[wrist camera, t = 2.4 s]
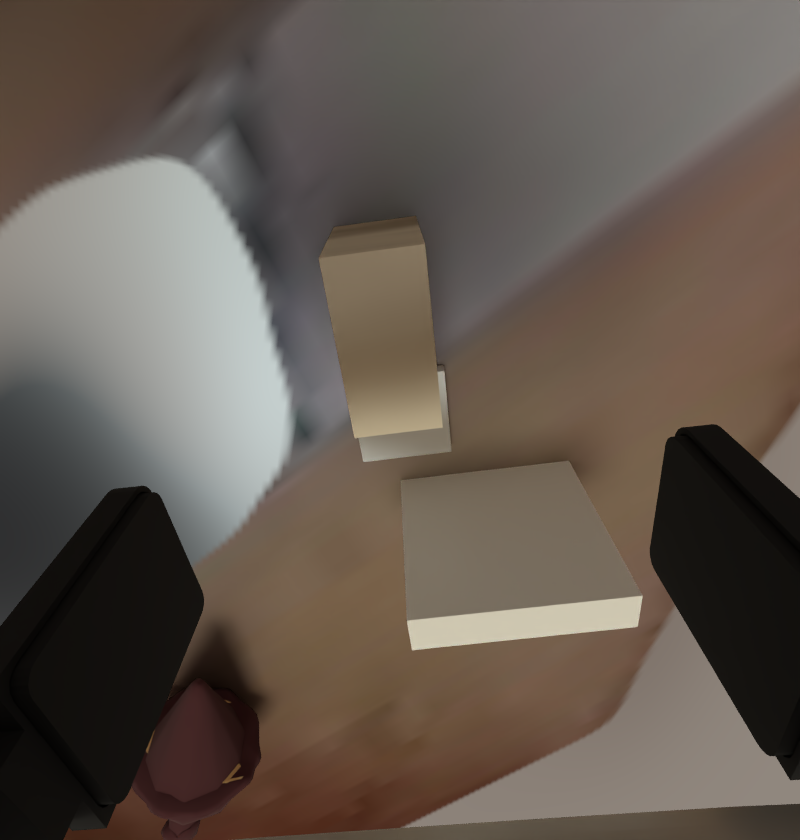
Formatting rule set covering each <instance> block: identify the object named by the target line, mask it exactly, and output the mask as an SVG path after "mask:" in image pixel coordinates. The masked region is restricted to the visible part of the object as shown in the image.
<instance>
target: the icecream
mask: <svg viewBox="0 0 800 840" xmlns="http://www.w3.org/2000/svg"><path fill="white" fill-rule="evenodd" d="M260 759H261V752H260V746H259V721H258V717H257V714H256V713H255V712H254V711H253V709H252V708H250V707H249V706H248V705H247V704H245V703H244V702H243V701H241V700H240V699H239V698H238V697H237V696H236V695H235V694H234V693H233V692H232V691H231V690H230V689H228V688H220V689H212V688H211V687H210V686H209V685H208V684H207V683H206V682H205V681H204V680H202V679H200V678H198V679H195V680H194V681H193V682H192V683H191V684H190V685H189V686H188V688H186V689H183V690H181V691H179V692H178V693H177V694H175V695H174V696H173V697H171V698H170V699H169V700H167V701H166V702H165V705H164V707H163V710H162V712H161V715H160V717H159V720H158V722H157V725H156V727H155V729H154V732H153V734H152V737H151V739H150V742H149V744H148V747H147V749H146V752H145V754H144V757H143V759H142V761H141V764H140V766H139V769H138V771H137V774H136V776H135V779H134V781H133V784H132V788H133V790H134V792H135V793H136V794H137V795H138V796H139V797H140V798H141V799H142V800H143V801H144V802H145V803H146V804H147V807H148V808H149V810H150V811H151V813H153V814H154V815H157V816H158V817H160V818H164V819H168V821H167V822H166V824H165V825H164V827H163V829H162V831H161V834H162V837H163V839H164V840H192V839H193V837H194V836H195V835H196V834H197V831H198V828H199V824H200V820H201V819H203V818H206V817H209V816H212V815H215V814H218V813H220V812H221V811H222V810H223V809H224V807H225V806H226V805H227V804H228V802H229V801H230V800H231V799H232V798H233V797H234V796H236V795H237V794H238V793H239V792H240V791H241V790H243V789H244V788H245V787H246V786H247V785H248V784H249V783H250V782H251V780H252V779H253V775H254V771H255V768H256V767H257V765H258V764H259V762H260Z"/></svg>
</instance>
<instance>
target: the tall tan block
mask: <svg viewBox="0 0 800 840" xmlns="http://www.w3.org/2000/svg"><path fill="white" fill-rule="evenodd" d="M319 263H320V268H321V273H322V278H323V283H324V288H325V293H326V298H327V303H328V308H329V313H330V318H331V323H332V328H333V333H334V338H335V343H336V348H337V353H338V358H339V363H340V368H341V373H342V378H343V383H344V388H345V393H346V398H347V403H348V408H349V413H350V418H351V423H352V428H353V433H354V438H359V442H360V447H361V452H362V457H363V462H368V461H376V460H385V459H393V458H402V457H410V456H419V455H427V454H436V453H444V452H452V451H451V440H450V429H449V418H448V406H447V395H446V384H445V372H444V367H443V365H439V366H437V362H436V352H435V342H434V331H433V321H432V310H431V300H430V290H429V279H428V269H427V258H426V248H425V242H424V239H423V236H422V233H421V230H420V227H419V224H418V221H417V218H416V216H410V217H403V218H396V219H388V220H381V221H374V222H366V223H359V224H352V225H345V226H337V227H334V228H333V230H332V232H331V234H330V236H329V238H328V240H327V242H326V244H325V246H324V248H323V250H322V252H321V254H320V256H319Z"/></svg>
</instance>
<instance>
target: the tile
mask: <svg viewBox="0 0 800 840" xmlns="http://www.w3.org/2000/svg"><path fill="white" fill-rule="evenodd" d="M401 501H402V522H403V544H404V566H405V588H406V610H407V624H408V629H409V635H410V641H411V646H412V650H418V649H428V648H437V647H447V646H457V645H466V644H476V643H486V642H495V641H505V640H515V639H524V638H534V637H544V636H554V635H563V634H573V633H583V632H592V631H602V630H612V629H621V628H631V627H638V621H639V615H640V609H641V603H642V597H643V596H642V594H641V592H640V590H639V588H638V586H637V585H636V583H635V581H634V579H633V577H632V575H631V574H630V572H629V570H628V568H627V566H626V564H625V563H624V561H623V559H622V557H621V555H620V553H619V552H618V550H617V548H616V546H615V544H614V542H613V541H612V539H611V537H610V535H609V533H608V531H607V530H606V528H605V526H604V524H603V522H602V520H601V519H600V517H599V515H598V513H597V511H596V509H595V508H594V506H593V504H592V502H591V500H590V498H589V497H588V495H587V493H586V491H585V489H584V487H583V486H582V484H581V482H580V480H579V478H578V476H577V475H576V473H575V471H574V469H573V467H572V465H571V464H570V462H569V461H562V462H553V463H544V464H536V465H527V466H519V467H510V468H501V469H493V470H484V471H475V472H467V473H458V474H450V475H441V476H432V477H424V478H415V479H407V480H401Z"/></svg>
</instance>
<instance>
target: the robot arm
mask: <svg viewBox="0 0 800 840" xmlns="http://www.w3.org/2000/svg"><path fill="white" fill-rule="evenodd" d="M650 558H651V562H652V565H653V568H654V570H655V572H656V573H657V575H658V577H659V578H660V580H661V582H662V583H663V585H664V587H665V588H666V590H667V592H668V594H669V595H670V597H671V599H672V600H673V602H674V604H675V605H676V607H677V609H678V610H679V612H680V614H681V615H682V617H683V619H684V621H685V622H686V624H687V625H688V627H689V629H690V631H691V632H692V634H693V636H694V637H695V639H696V641H697V642H698V644H699V646H700V647H701V649H702V651H703V653H704V654H705V656H706V658H707V659H708V661H709V662H710V664H711V666H712V668H713V669H714V671H715V673H716V674H717V676H718V678H719V680H720V681H721V683H722V685H723V686H724V688H725V690H726V691H727V693H728V695H729V696H730V698H731V700H732V702H733V703H734V705H735V707H736V708H737V710H738V712H739V713H740V715H741V717H742V718H743V720H744V722H745V723H746V725H747V727H748V729H749V730H750V732H751V733H752V735H753V737H754V739H755V740H756V742H757V744H758V745H759V746H760V748H761V749H762V750H763V751H764V752H765V753H766V754H767V755H769V756H776V757H777V759H778V761H779V762H780V764H781V766H782V767H783V769H784V771H785V772H786V774H787V776H788V777H789V779H790V780H800V498H799V497H797V496H796V495H795V494H794V493H793V492H792V491H791V490H790V489H788V488H787V487H786V486H785V485H784V484H783V483H782V482H781V481H780V480H779V479H777V478H776V477H775V476H774V475H773V474H772V473H771V472H770V471H769V470H768V469H766V468H765V467H764V466H763V465H762V464H761V463H760V462H759V461H758V460H756V459H755V458H754V457H753V456H752V455H751V454H750V453H749V452H748V451H746V450H745V449H744V448H743V447H742V446H741V445H740V444H739V443H738V442H737V441H735V440H734V439H733V438H732V437H731V436H730V435H729V434H728V433H727V432H725V431H724V430H723V429H722V428H721V427H719V426H718V425H714V424H711V425H702V426H693V427H683V428H680V429H678V431H677V432H676V434H675V437H670V438H668V440H667V442H666V445H665V452H664V459H663V465H662V472H661V479H660V485H659V492H658V499H657V505H656V512H655V519H654V525H653V532H652V539H651V545H650ZM203 606H204V596H203V592H202V590H201V587H200V585H199V583H198V580H197V578H196V576H195V574H194V571H193V569H192V567H191V565H190V562H189V560H188V558H187V556H186V553H185V551H184V549H183V546H182V544H181V542H180V540H179V537H178V535H177V533H176V530H175V528H174V526H173V524H172V521H171V519H170V517H169V515H168V512H167V510H166V508H165V506H164V503H163V501H162V499H161V497H160V495H159V494H157V493H155V492H153V493H152V492H151V490H150V489H149V488H147V487H146V486H137V487H128V488H118V489H113V490H111V491H110V492H108V493H107V494H106V496H105V497H104V498H103V499H102V501H101V502H100V503H99V504H98V506H97V507H96V508H95V509H94V511H93V512H92V513H91V514H90V516H89V517H88V518H87V519H86V520H85V522H84V523H83V524H82V525H81V527H80V528H79V529H78V530H77V532H76V533H75V534H74V536H73V537H72V538H71V539H70V541H69V542H68V543H67V544H66V546H65V547H64V548H63V549H62V550H61V552H60V553H59V554H58V555H57V557H56V558H55V559H54V560H53V562H52V563H51V564H50V566H49V567H48V568H47V569H46V570H45V571H44V573H43V574H42V575H41V576H40V578H39V579H38V580H37V581H36V583H35V584H34V585H33V586H32V588H31V589H30V590H29V591H28V593H27V594H26V595H25V596H24V597H23V599H22V600H21V601H20V602H19V604H18V605H17V606H16V607H15V609H14V610H13V611H12V612H11V614H10V615H9V616H8V617H7V619H6V620H5V621H4V622H3V624H2V625H1V626H0V840H63V839H64V837H65V835H66V832H67V830H68V828H69V827H70V829H71V830H72V831H73V830H87V829H101V828H107V825H108V823H109V821H110V818H111V816H112V813H113V811H114V809H115V806H116V804H119V803H121V802H122V801H123V800H124V799H125V798H126V796H127V795H128V793H129V791H130V789H131V786H132V784H133V781H134V779H135V776H136V774H137V771H138V769H139V766H140V764H141V761H142V759H143V757H144V754H145V752H146V749H147V747H148V744H149V742H150V739H151V737H152V734H153V732H154V729H155V727H156V725H157V722H158V720H159V717H160V715H161V712H162V710H163V707H164V705H165V702H166V700H167V698H168V695H169V693H170V690H171V688H172V685H173V683H174V680H175V678H176V675H177V673H178V670H179V668H180V666H181V663H182V661H183V658H184V656H185V653H186V651H187V648H188V646H189V643H190V641H191V638H192V636H193V634H194V631H195V629H196V626H197V624H198V621H199V619H200V616H201V614H202V611H203ZM238 840H800V804H787V805H765V806H742V807H722V808H707V809H690V810H674V811H658V812H642V813H626V814H611V815H595V816H594V815H593V816H577V817H561V818H546V819H531V820H514V821H500V822H485V823H469V824H454V825H439V826H426V827H410V828H395V829H380V830H366V831H351V832H337V833H322V834H307V835H293V836H278V837H265V838H251V839H238Z"/></svg>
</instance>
